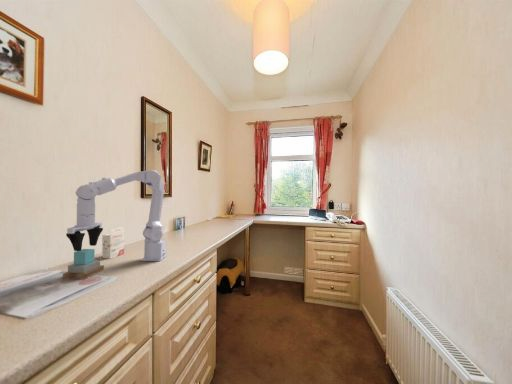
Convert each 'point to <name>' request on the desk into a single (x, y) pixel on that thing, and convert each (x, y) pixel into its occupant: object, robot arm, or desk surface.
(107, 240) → the ink cartridge box
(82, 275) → the walnut slab
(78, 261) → the teal block
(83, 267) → the gray slab
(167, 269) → the desk surface
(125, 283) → the desk surface
